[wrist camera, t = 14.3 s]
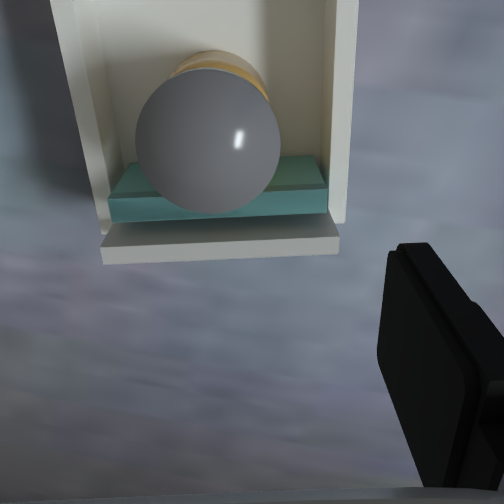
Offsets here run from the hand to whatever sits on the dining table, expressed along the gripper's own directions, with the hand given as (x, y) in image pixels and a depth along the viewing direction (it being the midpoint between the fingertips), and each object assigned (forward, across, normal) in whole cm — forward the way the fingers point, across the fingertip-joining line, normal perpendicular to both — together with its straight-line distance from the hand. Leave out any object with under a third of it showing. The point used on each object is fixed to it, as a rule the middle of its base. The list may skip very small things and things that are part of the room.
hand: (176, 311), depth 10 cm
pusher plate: (+19, 0, +3) cm, 19 cm away
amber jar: (+19, 0, 0) cm, 19 cm away
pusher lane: (+20, 0, -2) cm, 20 cm away
